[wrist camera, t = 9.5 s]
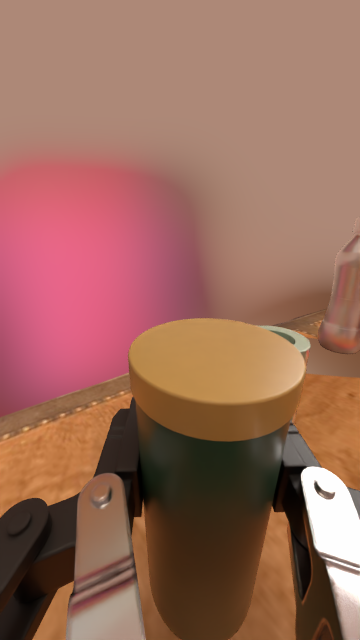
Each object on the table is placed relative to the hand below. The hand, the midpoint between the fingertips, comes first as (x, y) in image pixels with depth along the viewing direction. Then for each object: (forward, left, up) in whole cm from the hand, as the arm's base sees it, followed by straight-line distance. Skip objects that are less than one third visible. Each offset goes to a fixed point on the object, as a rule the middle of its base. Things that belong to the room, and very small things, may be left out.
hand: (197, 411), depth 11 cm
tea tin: (0, -3, -6) cm, 7 cm away
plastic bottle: (+26, +24, -10) cm, 37 cm away
